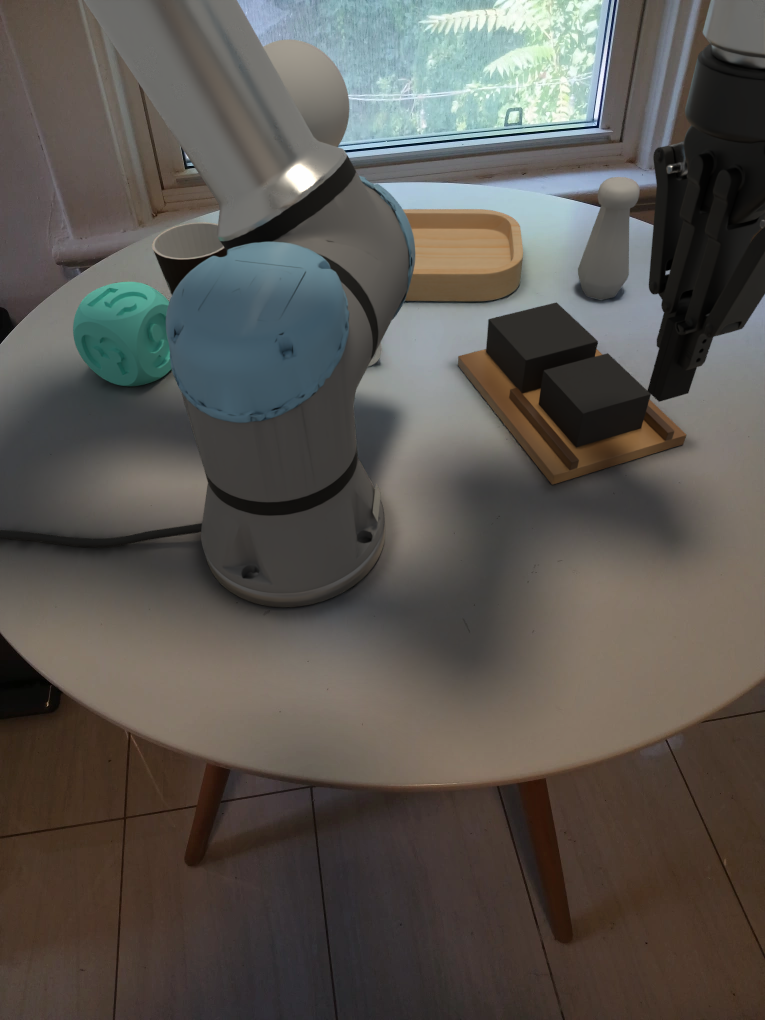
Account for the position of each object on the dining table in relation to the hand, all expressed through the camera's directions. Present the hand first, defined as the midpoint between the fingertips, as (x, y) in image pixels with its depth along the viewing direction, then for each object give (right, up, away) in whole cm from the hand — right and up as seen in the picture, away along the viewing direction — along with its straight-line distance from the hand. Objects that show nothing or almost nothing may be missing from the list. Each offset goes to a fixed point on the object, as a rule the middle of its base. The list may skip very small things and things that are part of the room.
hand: (667, 391), depth 57 cm
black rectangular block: (-3, 0, +12) cm, 13 cm away
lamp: (-22, +22, +36) cm, 48 cm away
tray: (-4, +2, +16) cm, 17 cm away
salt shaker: (+4, +17, +31) cm, 35 cm away
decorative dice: (-49, +6, +23) cm, 55 cm away
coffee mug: (-42, +14, +30) cm, 54 cm away
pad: (-6, +6, +19) cm, 21 cm away
